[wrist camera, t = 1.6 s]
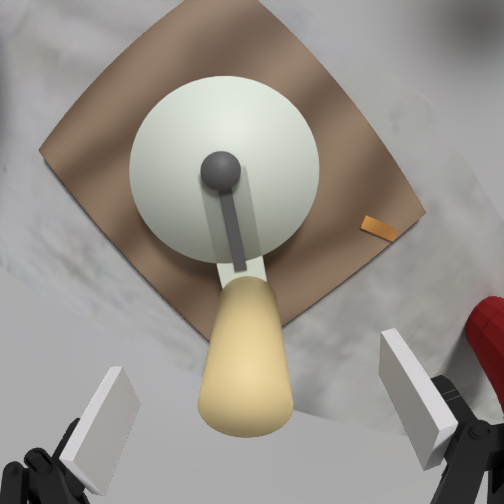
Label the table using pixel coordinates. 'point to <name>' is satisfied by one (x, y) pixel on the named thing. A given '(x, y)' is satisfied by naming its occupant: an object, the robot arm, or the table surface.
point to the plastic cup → (489, 341)
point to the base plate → (281, 80)
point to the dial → (231, 227)
